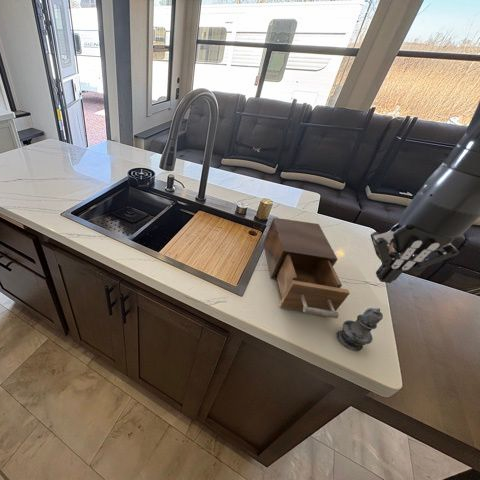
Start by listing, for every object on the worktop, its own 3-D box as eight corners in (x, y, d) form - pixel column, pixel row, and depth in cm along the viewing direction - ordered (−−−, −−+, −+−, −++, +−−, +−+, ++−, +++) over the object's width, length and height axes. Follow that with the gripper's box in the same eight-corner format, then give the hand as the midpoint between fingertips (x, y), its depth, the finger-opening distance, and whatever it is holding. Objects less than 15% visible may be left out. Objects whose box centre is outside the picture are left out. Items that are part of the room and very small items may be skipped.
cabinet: (319, 286, 72) (337, 259, 65) (270, 278, 74) (283, 250, 67) (304, 249, 85) (318, 223, 78) (263, 243, 87) (273, 217, 80)
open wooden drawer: (338, 333, 59) (359, 310, 54) (283, 323, 61) (298, 300, 55) (314, 272, 75) (328, 250, 70) (271, 265, 77) (281, 243, 71)
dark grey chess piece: (363, 357, 56) (398, 326, 49) (334, 342, 58) (362, 311, 51) (364, 337, 60) (396, 305, 52) (336, 324, 62) (363, 292, 55)
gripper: (418, 205, 36) (354, 288, 46) (525, 218, 34) (433, 300, 45) (389, 182, 41) (338, 261, 52) (480, 193, 40) (408, 271, 51)
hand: (382, 279), depth 48 cm, fingers closed
